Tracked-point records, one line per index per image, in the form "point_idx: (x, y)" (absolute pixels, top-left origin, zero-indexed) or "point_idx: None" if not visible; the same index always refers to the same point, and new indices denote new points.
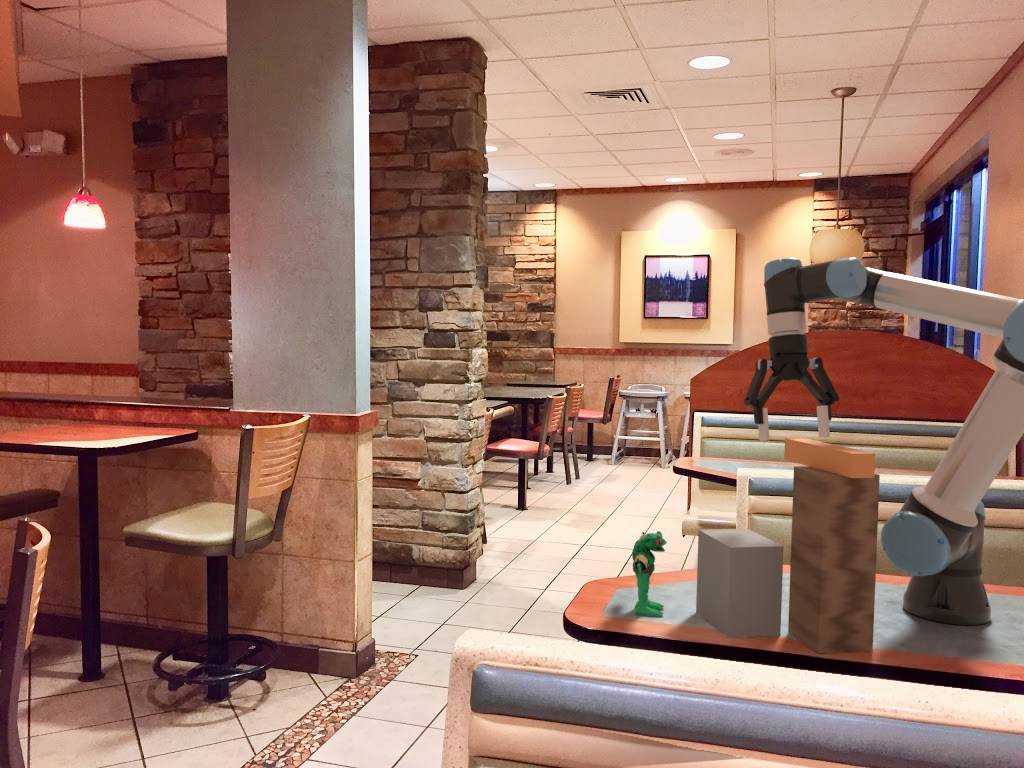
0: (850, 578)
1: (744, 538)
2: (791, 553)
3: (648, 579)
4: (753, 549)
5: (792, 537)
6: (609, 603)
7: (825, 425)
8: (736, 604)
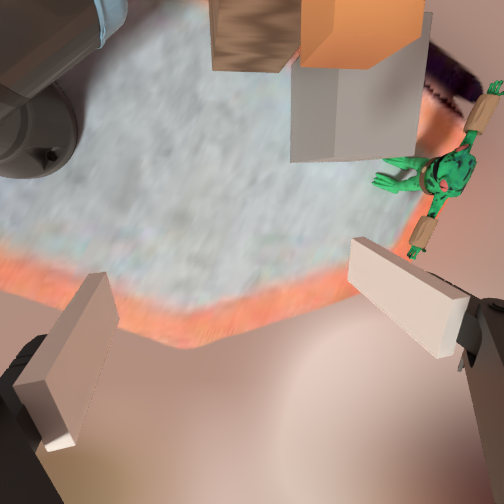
0: None
1: (376, 79)
2: None
3: (424, 162)
4: None
5: None
6: (418, 200)
7: (91, 300)
8: None
